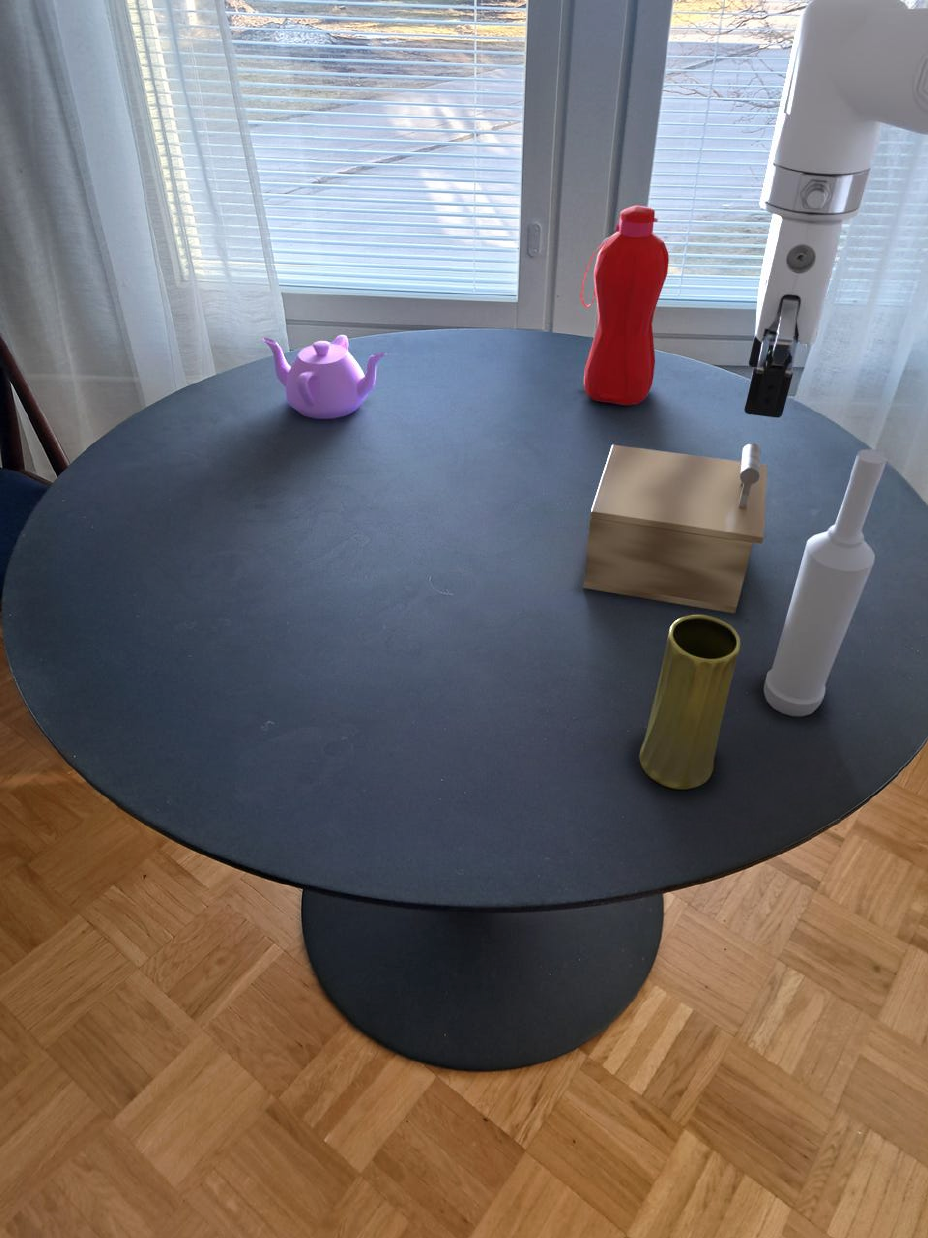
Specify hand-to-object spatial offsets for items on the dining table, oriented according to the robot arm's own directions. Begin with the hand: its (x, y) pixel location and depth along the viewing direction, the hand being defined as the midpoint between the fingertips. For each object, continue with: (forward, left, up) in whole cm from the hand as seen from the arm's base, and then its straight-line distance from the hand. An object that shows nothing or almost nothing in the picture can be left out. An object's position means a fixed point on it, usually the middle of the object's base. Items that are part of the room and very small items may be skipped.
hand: (763, 389), depth 80 cm
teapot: (+56, -25, -21) cm, 65 cm away
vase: (+2, +28, -21) cm, 35 cm away
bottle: (-7, +17, -21) cm, 28 cm away
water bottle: (+18, -39, -21) cm, 48 cm away
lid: (+6, 0, -12) cm, 14 cm away
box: (+6, 0, -21) cm, 22 cm away
